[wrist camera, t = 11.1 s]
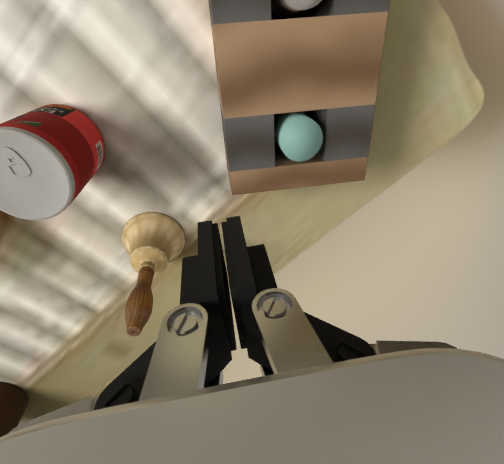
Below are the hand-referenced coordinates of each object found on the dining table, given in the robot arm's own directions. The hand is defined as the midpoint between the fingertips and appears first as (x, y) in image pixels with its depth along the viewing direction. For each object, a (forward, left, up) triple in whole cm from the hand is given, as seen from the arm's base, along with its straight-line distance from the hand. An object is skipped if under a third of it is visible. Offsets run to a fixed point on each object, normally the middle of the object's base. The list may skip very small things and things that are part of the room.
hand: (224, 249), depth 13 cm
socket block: (-5, +8, -27) cm, 28 cm away
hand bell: (+15, -10, -27) cm, 32 cm away
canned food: (+1, -16, -27) cm, 31 cm away
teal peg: (+1, +8, -26) cm, 27 cm away
